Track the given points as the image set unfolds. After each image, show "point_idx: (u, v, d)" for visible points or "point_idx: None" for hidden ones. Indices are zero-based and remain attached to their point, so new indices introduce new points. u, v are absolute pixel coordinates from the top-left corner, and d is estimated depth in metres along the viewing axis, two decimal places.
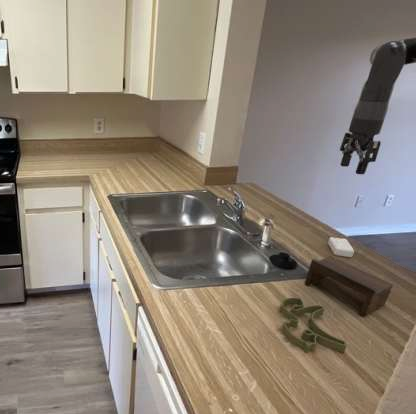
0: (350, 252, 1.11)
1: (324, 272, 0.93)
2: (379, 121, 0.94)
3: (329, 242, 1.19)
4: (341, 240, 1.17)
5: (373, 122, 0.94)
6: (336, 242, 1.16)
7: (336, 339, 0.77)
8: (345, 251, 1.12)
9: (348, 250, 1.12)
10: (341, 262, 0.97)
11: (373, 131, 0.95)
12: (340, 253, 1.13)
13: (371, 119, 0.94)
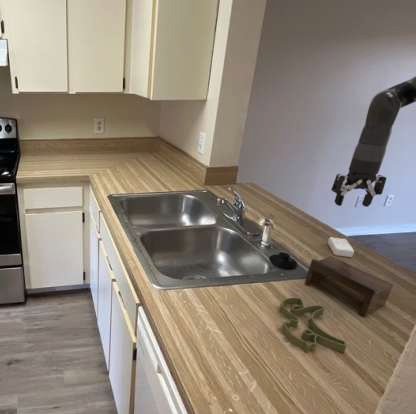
0: (350, 252, 1.11)
1: (324, 272, 0.93)
2: (357, 160, 1.02)
3: (329, 242, 1.19)
4: (341, 240, 1.17)
5: (353, 160, 1.04)
6: (336, 242, 1.16)
7: (336, 339, 0.77)
8: (345, 251, 1.12)
9: (348, 250, 1.12)
10: (341, 262, 0.97)
11: (352, 168, 1.04)
12: (340, 253, 1.13)
13: (353, 157, 1.04)
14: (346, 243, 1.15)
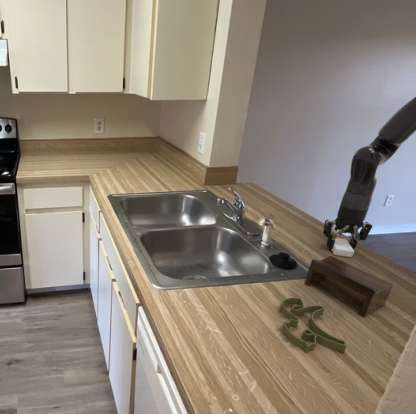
0: (350, 252, 1.11)
1: (324, 272, 0.93)
2: (344, 207, 1.09)
3: None
4: (341, 240, 1.17)
5: (341, 206, 1.11)
6: (336, 242, 1.16)
7: (336, 339, 0.77)
8: (345, 251, 1.12)
9: (348, 250, 1.12)
10: (341, 262, 0.97)
11: (339, 214, 1.11)
12: (339, 253, 1.13)
13: (341, 203, 1.11)
14: (346, 243, 1.15)
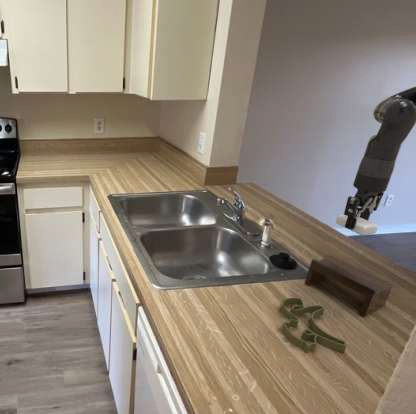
0: (375, 228, 0.95)
1: (324, 272, 0.93)
2: (370, 178, 0.91)
3: (340, 221, 1.01)
4: None
5: (363, 177, 0.92)
6: None
7: (336, 339, 0.77)
8: (371, 228, 0.95)
9: (373, 226, 0.95)
10: (341, 262, 0.97)
11: (363, 187, 0.93)
12: (367, 232, 0.95)
13: (362, 174, 0.92)
14: (360, 218, 0.99)
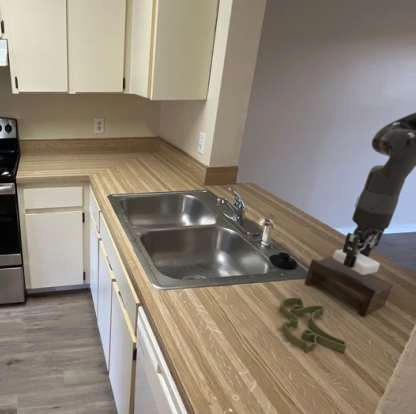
0: (377, 267, 0.86)
1: (324, 272, 0.93)
2: (371, 214, 0.82)
3: (338, 257, 0.92)
4: None
5: (364, 212, 0.83)
6: None
7: (336, 339, 0.77)
8: (373, 267, 0.86)
9: (375, 265, 0.86)
10: None
11: (363, 223, 0.84)
12: (368, 271, 0.86)
13: (362, 208, 0.83)
14: (360, 254, 0.90)
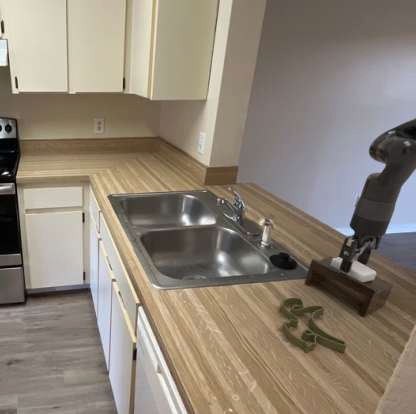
0: (373, 275, 0.87)
1: (324, 272, 0.93)
2: (368, 221, 0.83)
3: (336, 265, 0.93)
4: None
5: (361, 219, 0.84)
6: None
7: (336, 339, 0.77)
8: (369, 275, 0.87)
9: (372, 273, 0.87)
10: None
11: (360, 230, 0.84)
12: (364, 279, 0.87)
13: (359, 215, 0.84)
14: (357, 262, 0.91)
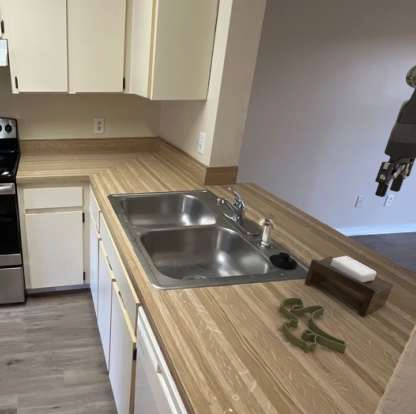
0: (373, 275, 0.87)
1: (324, 272, 0.93)
2: (404, 144, 0.90)
3: (336, 265, 0.93)
4: (347, 259, 0.93)
5: (396, 144, 0.91)
6: (350, 265, 0.90)
7: (336, 339, 0.77)
8: (369, 275, 0.87)
9: (372, 273, 0.87)
10: None
11: (396, 154, 0.91)
12: (364, 279, 0.87)
13: (394, 140, 0.91)
14: (357, 262, 0.91)
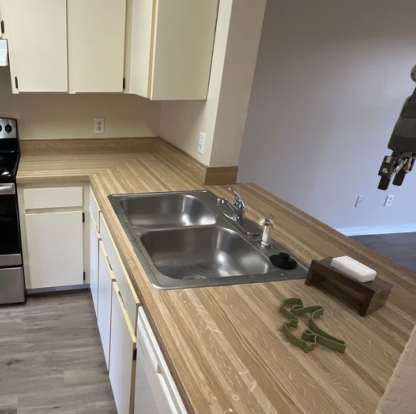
0: (373, 275, 0.87)
1: (324, 272, 0.93)
2: (406, 138, 0.92)
3: (336, 265, 0.93)
4: (347, 259, 0.93)
5: (399, 138, 0.93)
6: (350, 265, 0.90)
7: (336, 339, 0.77)
8: (369, 275, 0.87)
9: (372, 273, 0.87)
10: None
11: (399, 148, 0.93)
12: (364, 279, 0.87)
13: (397, 135, 0.93)
14: (357, 262, 0.91)
